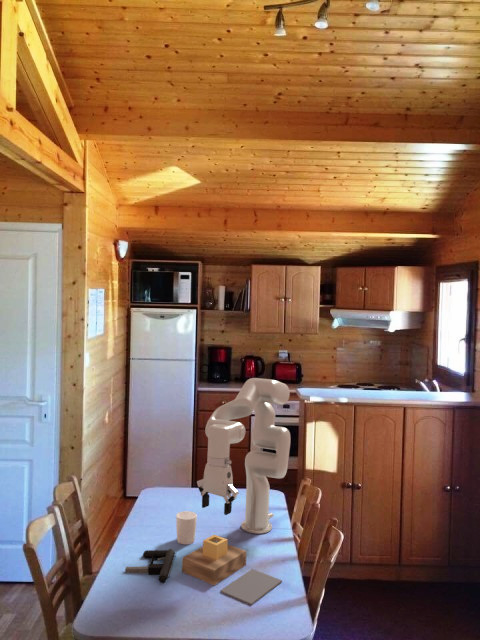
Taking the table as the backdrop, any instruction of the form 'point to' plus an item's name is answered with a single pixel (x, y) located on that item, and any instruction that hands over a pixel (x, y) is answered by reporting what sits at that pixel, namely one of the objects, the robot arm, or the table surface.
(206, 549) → the collar
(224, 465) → the robot arm
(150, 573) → the door handle
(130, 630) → the table surface
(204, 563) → the stand
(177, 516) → the white cup
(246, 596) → the mat
